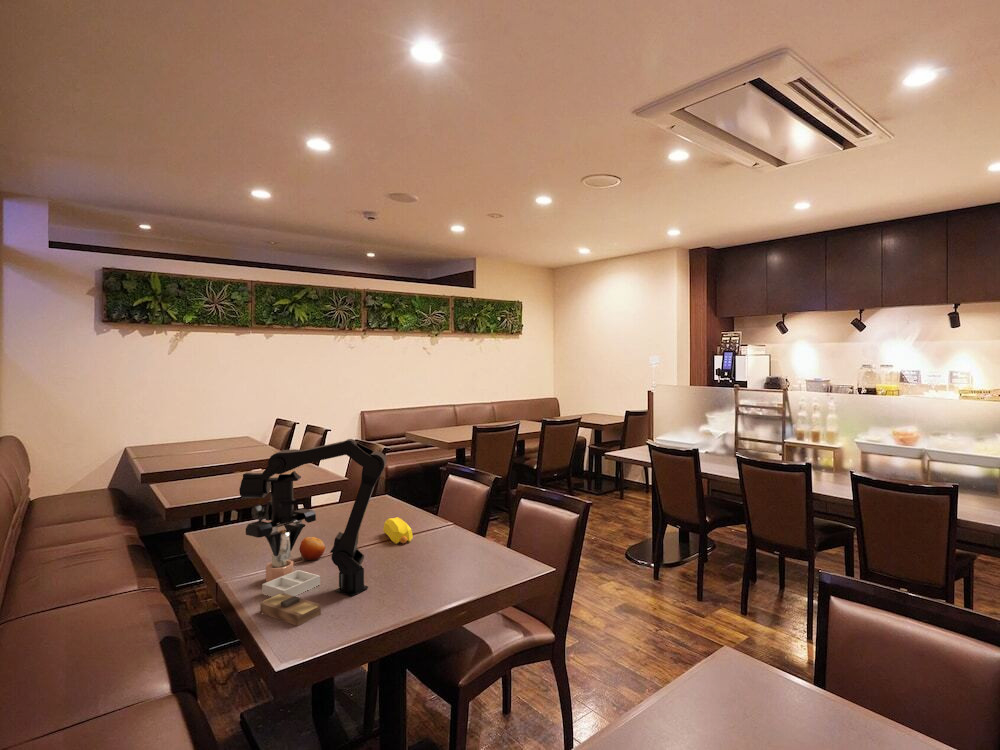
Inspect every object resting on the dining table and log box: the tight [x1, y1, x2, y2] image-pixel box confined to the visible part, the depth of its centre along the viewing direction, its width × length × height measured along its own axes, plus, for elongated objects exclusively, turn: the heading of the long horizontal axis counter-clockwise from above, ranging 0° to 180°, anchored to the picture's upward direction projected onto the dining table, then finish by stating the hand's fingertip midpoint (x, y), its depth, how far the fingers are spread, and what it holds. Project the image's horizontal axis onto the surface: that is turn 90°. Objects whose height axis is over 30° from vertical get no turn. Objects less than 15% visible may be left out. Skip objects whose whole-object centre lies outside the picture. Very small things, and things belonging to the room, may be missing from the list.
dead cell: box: [271, 553, 288, 568], centre depth 156 cm, size 4×4×8 cm
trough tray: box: [262, 569, 321, 598], centre depth 149 cm, size 9×12×3 cm
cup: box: [265, 559, 295, 583], centre depth 156 cm, size 7×7×5 cm
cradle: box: [259, 593, 322, 627], centre depth 134 cm, size 15×7×4 cm, turn 60°
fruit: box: [299, 536, 326, 562], centre depth 174 cm, size 8×8×8 cm
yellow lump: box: [382, 516, 414, 545], centre depth 195 cm, size 18×7×8 cm
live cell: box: [275, 529, 291, 560], centre depth 146 cm, size 4×4×8 cm
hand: (282, 553), depth 146 cm, fingers closed on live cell, 4 cm apart
